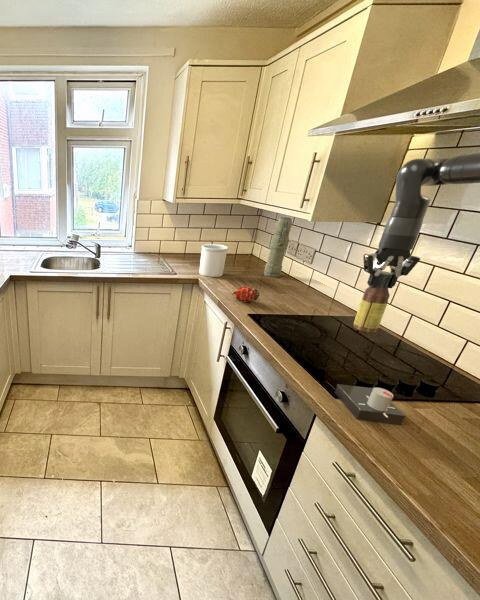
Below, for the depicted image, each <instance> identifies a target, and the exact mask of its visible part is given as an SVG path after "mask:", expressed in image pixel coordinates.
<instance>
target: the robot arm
mask: <svg viewBox="0 0 480 600" xmlns="http://www.w3.org/2000/svg"><path fill="white" fill-rule="evenodd" d="M470 184H471V185H472V184H480V151H479V152H471V153H463V154H457V155H454V156H452V157H444V158H414V159H410V160H409V161H407V162H406V163H403V165H402V166H401V167H400V169H399V171H398V173H397V175H396V180H395V203H394V204H393V208H392V210H391V212H390V216H389V217H388V220H387V221H386V224H385V226H384V229H383V231H382V234H381V237H380V240H379V243H378V248H377V250H376V251H374V253H364V254H363V256H362V257H363V271H364V272H365V273H367V274H369V275H368V276H369V277H368V280H367V282H366V284H367V285H368V287H375V285H376V283H377V280H378V278H379V276H378V275H379V274H380V273H381V271H385V269H386V268H387V267H389V268H390V271H389V273H392V274H393V275H392V278H391V279H390V281H389V284H388V289H393V288H394V287H395V286H396V285H397V281H398V279H399V278H400V277H402V276H408V275H409V274H410V272H411V271H412V270H413V268H415V267H416V266H417V264H418V263H419V262H420V261H421V258H420V257H418V256H416V255H412V254H411V251H412V250H413V249H414V247H415V244H416V242H417V239H418V236H419V235H420V231H421V229H422V227H423V222H424V220H425V219H424V218H425V216H426V213H427V211H428V208H429V206H430V204H431V198H430V197H429V196H427V195H423V194H422V187H437V186H446V185H470ZM374 261H375V262H374Z"/></svg>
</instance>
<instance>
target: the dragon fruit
mask: <svg viewBox="0 0 480 600" xmlns="http://www.w3.org/2000/svg"><path fill="white" fill-rule="evenodd" d="M232 295H234V299H236V300H238V301H240V302H242V301H243V303H244V304H245V303H251V302H252V301H256V302H257V300H258V299H259V297H260V292H259V291H258V289H256V288H254V287H253V286H252V285H250V286H247V285H244V286H241V287H238V289H236V290H235V291H233V293H232Z"/></svg>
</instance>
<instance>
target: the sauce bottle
mask: <svg viewBox="0 0 480 600" xmlns="http://www.w3.org/2000/svg"><path fill="white" fill-rule="evenodd" d="M392 275H393V274H392V273H390V271H385V270H382V271H381V273H380V274H379V275H378V276H379V278H378V280H377V283H376V285H375V287H370V286H368V287H367V288H365V289H364V292H363V295H362V298H361V300H360V303H359V306H358V309H357V312H356V315H355V318H354V321H353V328H354V329H355V330H358V331H360V332H361V333H366V334H375V333H377V331H378V329H380V325H381V321H382V319H383V316H384V314H385V311H386V308H387V307H388V306H387V305H388V302H389V299H390V292H389V291H390V290H389V288H388V284H389V281H390V279H391V278H392Z"/></svg>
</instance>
